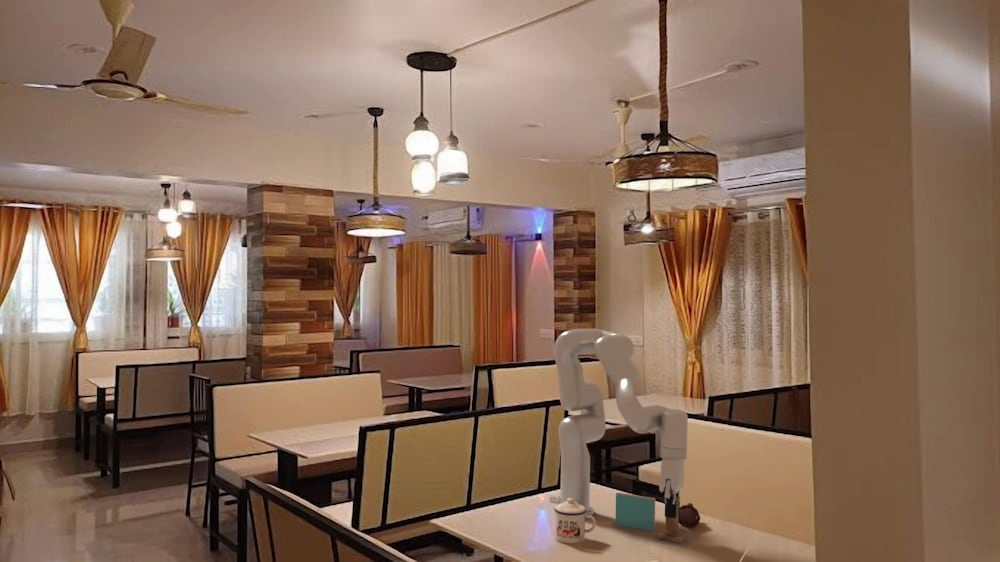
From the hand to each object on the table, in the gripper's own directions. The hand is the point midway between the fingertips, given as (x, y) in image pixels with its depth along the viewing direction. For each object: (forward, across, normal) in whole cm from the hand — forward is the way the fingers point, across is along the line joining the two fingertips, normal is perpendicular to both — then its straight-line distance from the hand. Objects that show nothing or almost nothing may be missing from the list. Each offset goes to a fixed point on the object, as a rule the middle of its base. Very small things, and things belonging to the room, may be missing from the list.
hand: (672, 514), depth 209 cm
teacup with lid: (+8, +14, -25) cm, 29 cm away
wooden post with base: (+7, 0, 0) cm, 7 cm away
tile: (+3, -5, -13) cm, 14 cm away
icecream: (+8, -15, +1) cm, 17 cm away
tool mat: (+7, 0, 0) cm, 7 cm away
